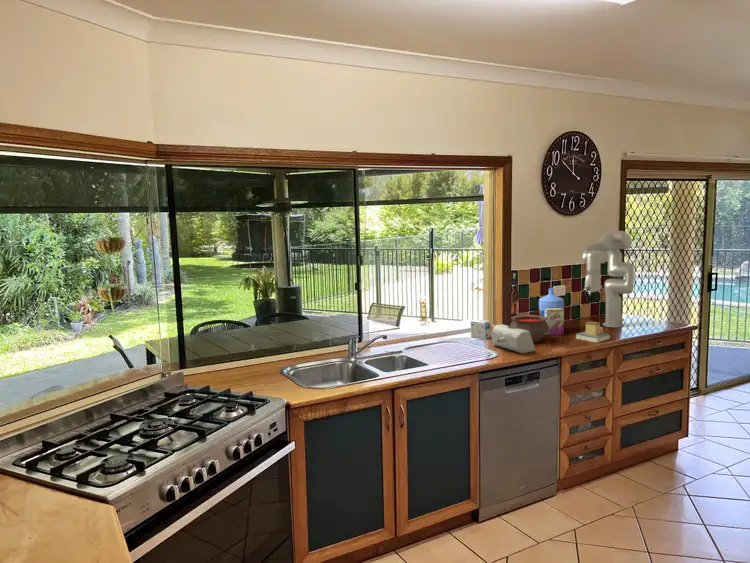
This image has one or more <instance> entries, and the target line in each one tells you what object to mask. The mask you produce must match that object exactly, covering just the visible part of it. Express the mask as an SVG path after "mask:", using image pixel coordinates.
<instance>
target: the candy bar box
mask: <svg viewBox="0 0 750 563" xmlns="http://www.w3.org/2000/svg"><path fill="white" fill-rule="evenodd" d="M545 317H546V318H547V319H546V322H547V324H548V327H549V330H548V331H547V333H546V334H545V336H554V335H555V336H556V335H557V336H559V334H565V309H562V308H549V309H545Z"/></svg>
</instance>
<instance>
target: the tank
mask: <svg viewBox="0 0 750 563" xmlns="http://www.w3.org/2000/svg"><path fill="white" fill-rule="evenodd" d="M509 327H510V325H507V324H495V325H494V326H493V328H492V330H491V342H492V343H493V344H494V346H495V345H496V346H495V347H499V348H502V349H506V350H509V351H511V352H514V351H515V352H514V353H519V354H521V355H522V354H528V352H529V353H533V351H534V352H536V348H535V345H534V342H533V341H532V338H531V335H530V332H529V331H527V330H523V329H511V328H509Z"/></svg>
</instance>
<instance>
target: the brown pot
mask: <svg viewBox="0 0 750 563" xmlns="http://www.w3.org/2000/svg"><path fill="white" fill-rule="evenodd" d="M540 313H541V312H540V311H539V312H538V315H535V314H521V315H520V314H519V315H514V316H511V317H510V319H511V323H510V325H509V327H508V328H511V329H523V330H527V331H529V332H530V335H531V338H532V341H533V343H537V342H538V343H539V342H540V341H542V339H544V337H545V336H546V333H547V331H548V330H549V327H548V324H547V322H546V319H547V318H546V317H544V315H543V316H541V315H542V313H541V315H540Z"/></svg>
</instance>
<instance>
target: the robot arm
mask: <svg viewBox="0 0 750 563" xmlns="http://www.w3.org/2000/svg"><path fill="white" fill-rule="evenodd" d="M632 242H633V241H632V238H631V236H630V235H629V234H628V233H627V232H626V231H623V230H607V231H605V232H603V233H602V235H601V237H600V238H599V239H598V241H596V242H594V243H592V244H589V245H588V246H587V247H586V248H584V251H583V252H582V257H581V258H582V261H583V263H585V264H586V271H585V272H586V275H585V280H584V288H583V291H584V296H585V303H591V302H592V293H594V300H595V301H601V294H602V291H603V285H604V293H605V294H604V295H605V319H604V320H605V322H603V323H602V327H606V328H623V327H624V326H625V325H624V324H623V323H622V322H624V320H625V319H624V318H623V317H622V298H621V297H620V295H619V294H622V295H623V294H624V295H625V294H626V295H627V294H629V295H631V294H632V293H633V292H634V285H635V284H634V282H635V268H634V267H635V266H634V265H633V263H631V262H623V254H622V252H621V251H620V250H628V249H630V248H631V247H632V244H633V243H632ZM605 263H607V275H608V276H609V277H615V278H609V279H606V280H605V281H604V284H603V285H601V284H602V282H601V264H605ZM616 277H617V278H616Z"/></svg>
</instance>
